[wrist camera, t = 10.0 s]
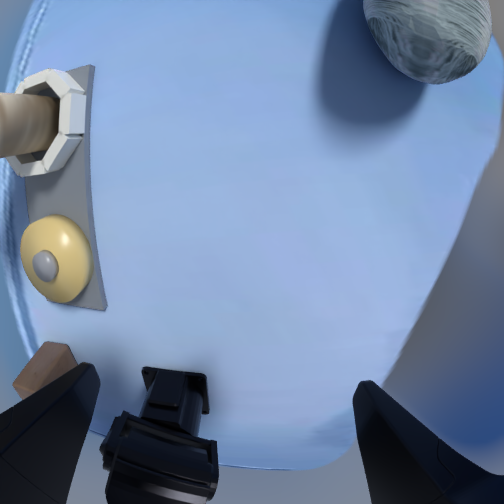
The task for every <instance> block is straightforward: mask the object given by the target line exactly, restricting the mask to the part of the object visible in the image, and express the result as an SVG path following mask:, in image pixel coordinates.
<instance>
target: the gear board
mask: <svg viewBox="0 0 504 504" xmlns="http://www.w3.org/2000/svg"><path fill="white" fill-rule="evenodd" d="M94 70H95V66H92V65H86V66H83V67H79V68H76V69H72V70H69V71H66V72H63V71H60V70H56V69H51V68H48V69H46V70H43V71H41V72H38V73H36V74H33V75H31V76H29V77H26V78H24V82H23V81H21V83H20V84H19V86H18V88H17V89H16V91H15V94H29V95H39V96H49V97H56V98H58V99H59V100H60V114H59V133H58V135H57V136H56V138H55V139H54V141H53V143H52V144H51V146H50V147H49V149H48V150H46V151H39V152H32V153H26V154H20V155H14V156H9V157H5V158H6V160H7V161H8V163H9V164H10V165H11V167H12V168H13V170H14V171H15V173H16V174H17V176H20V177H25V187H26V198H27V207H28V215H29V222H30V225H29V226H28V227H27V228H26V229H25V231H24V233H23V236H22V239H21V245H20V252H21V260H22V264H23V267H24V270H25V272H26V274H27V276H28V278H29V280H30V281H31V283H32V284H33V286H34V287H35V288H36V289H37V290H38V291H39V292H40V293H41V294H42V295H43V296H45V297H46V299H47V301H50V302H56V303H61V304H67V305H73V306H79V307H85V308H91V309H98V310H105V308H106V307H107V306H108V305H107V301H106V296H105V291H104V286H103V281H102V275H101V270H100V264H99V258H98V251H97V244H96V236H95V228H94V219H93V208H92V196H91V178H90V118H91V101H92V89H93V79H94Z"/></svg>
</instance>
